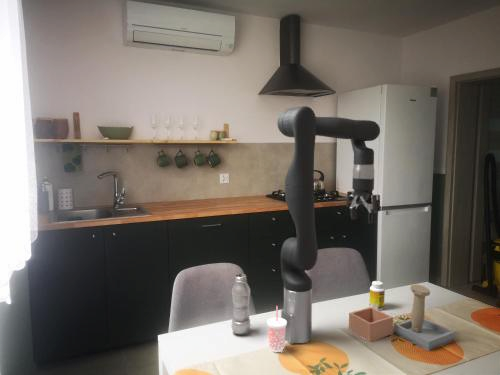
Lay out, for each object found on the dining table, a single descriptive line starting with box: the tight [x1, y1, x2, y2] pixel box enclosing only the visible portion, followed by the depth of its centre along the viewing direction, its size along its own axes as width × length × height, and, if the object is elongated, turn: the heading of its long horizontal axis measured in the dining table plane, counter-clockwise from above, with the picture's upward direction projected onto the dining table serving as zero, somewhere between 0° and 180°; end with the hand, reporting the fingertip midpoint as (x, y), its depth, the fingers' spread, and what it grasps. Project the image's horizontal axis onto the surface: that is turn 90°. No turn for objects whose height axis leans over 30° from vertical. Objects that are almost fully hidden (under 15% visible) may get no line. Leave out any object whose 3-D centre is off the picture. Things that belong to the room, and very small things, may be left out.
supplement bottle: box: [368, 280, 386, 311], centre depth 145 cm, size 6×6×10 cm
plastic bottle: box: [231, 273, 252, 335], centre depth 125 cm, size 6×7×20 cm
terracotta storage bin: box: [348, 306, 394, 343], centre depth 126 cm, size 11×10×6 cm
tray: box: [393, 317, 456, 352], centre depth 123 cm, size 13×13×3 cm
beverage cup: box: [266, 305, 287, 352], centre depth 115 cm, size 6×6×14 cm
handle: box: [410, 283, 431, 332], centre depth 124 cm, size 5×6×15 cm
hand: (362, 221), depth 135 cm, fingers open, 8 cm apart
